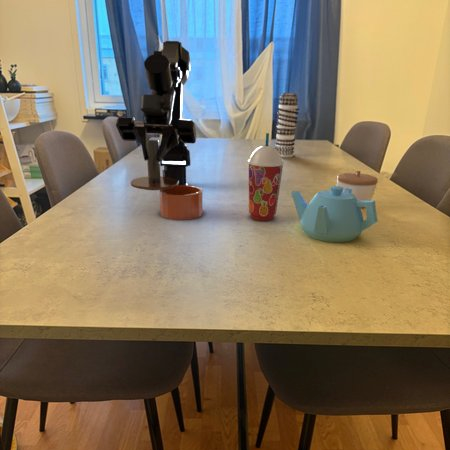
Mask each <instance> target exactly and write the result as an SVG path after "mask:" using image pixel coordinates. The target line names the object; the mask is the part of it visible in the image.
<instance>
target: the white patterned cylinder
mask: <svg viewBox="0 0 450 450" xmlns="http://www.w3.org/2000/svg"><path fill="white" fill-rule="evenodd" d="M298 100H299V97H298V96H297V93H295V92H294V93H293V92H282V93H281V94H280V96H279V104H278V108H277V112H276V115H277V116H276V119H277V120H276V128H277V131H276V136H275V137H276V138H275V142H274V144H275V146H274V148H275V149H276V150H277V151H278V152H279V154H280V156H281V158H292V157H294V154H295V151H294V150H295V141H296V139H295V137H296V134H295V133H296V132H295V130H296V128H297V126H296V124H297V123H298V121H297V120H298V117H297V115H299V110H300V109H299V107H298Z"/></svg>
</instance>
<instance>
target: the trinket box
mask: <svg viewBox="0 0 450 450" xmlns="http://www.w3.org/2000/svg"><path fill="white" fill-rule="evenodd" d="M378 182H379V179H378V178H377V177H376V176H375V175H374V176H373V175H370V174H366V173H361V170H356V171H355V172H346V173H339V174H338V175H337V177H336V186H341V187H343V188H344V189H343V192H344V190H345V189H347V188H348V189H352V192H351V194H353V195H354V196H355V197H356V199H357V201H359V200H373V197H374V195H375V193H376V189H377V184H378ZM360 208H361V209H362V208H363V207H360Z"/></svg>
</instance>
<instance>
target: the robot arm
mask: <svg viewBox="0 0 450 450" xmlns="http://www.w3.org/2000/svg"><path fill="white" fill-rule="evenodd" d="M143 66H144V70H145V77H146V80H147V85H148V87H149V89H150V90H151V93H150V94H141V96H140V111H142V119H143V121H141V120H139V121H138V120H136V119H135V117H133V116H118V117H117V119H116V123H115V127H116V129H117V131H118V134H119V136H120V138H121V140H123V141H126V142H127V141H128V142H136V141H137V144H140V145H141V149H142V156H143V160H144V161H145V162H147V148H146V141H147V140H150V139H149V135H159V136H161V139H160V143H159V152H158V161H160V167H163V169H162V170H161V171H162V177H169V178H174V179H176V180H178V185H189V184H188V183H187V167H190V166H191V152H190V150H189V147H188V145H187V144H195V143H196V142H197V129H196V124H195V121H194V120H193V119H189V118H188V119H186V118H185V119H184V118H183V89H184V85H185V84H186V82H187V81H188V79H189V72H191V55H190V51H188V50H187V49H186V48H185V47H184V46H183V45H182V41H179V40H165V41H163V43H162V49H161V50H154V51H153V54H151V55H148V56H147V57H146V58H145V60H144V61H143Z"/></svg>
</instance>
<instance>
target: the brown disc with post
mask: <svg viewBox="0 0 450 450" xmlns="http://www.w3.org/2000/svg"><path fill="white" fill-rule="evenodd" d="M159 146H160V140H157V139H149V140H147V141H146V148H147V161H146V163H147V164H146V165H147V176H143V177H136V178H134V179H132V180H130V186H131V187H133V188H136V189H139V190H146V191H160V190H164V189H169V188H173V187H176V186H177V185H178V180H176V179H174V178H169V177H163V176H162V175H161V165H160V161H158V152H159Z"/></svg>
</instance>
